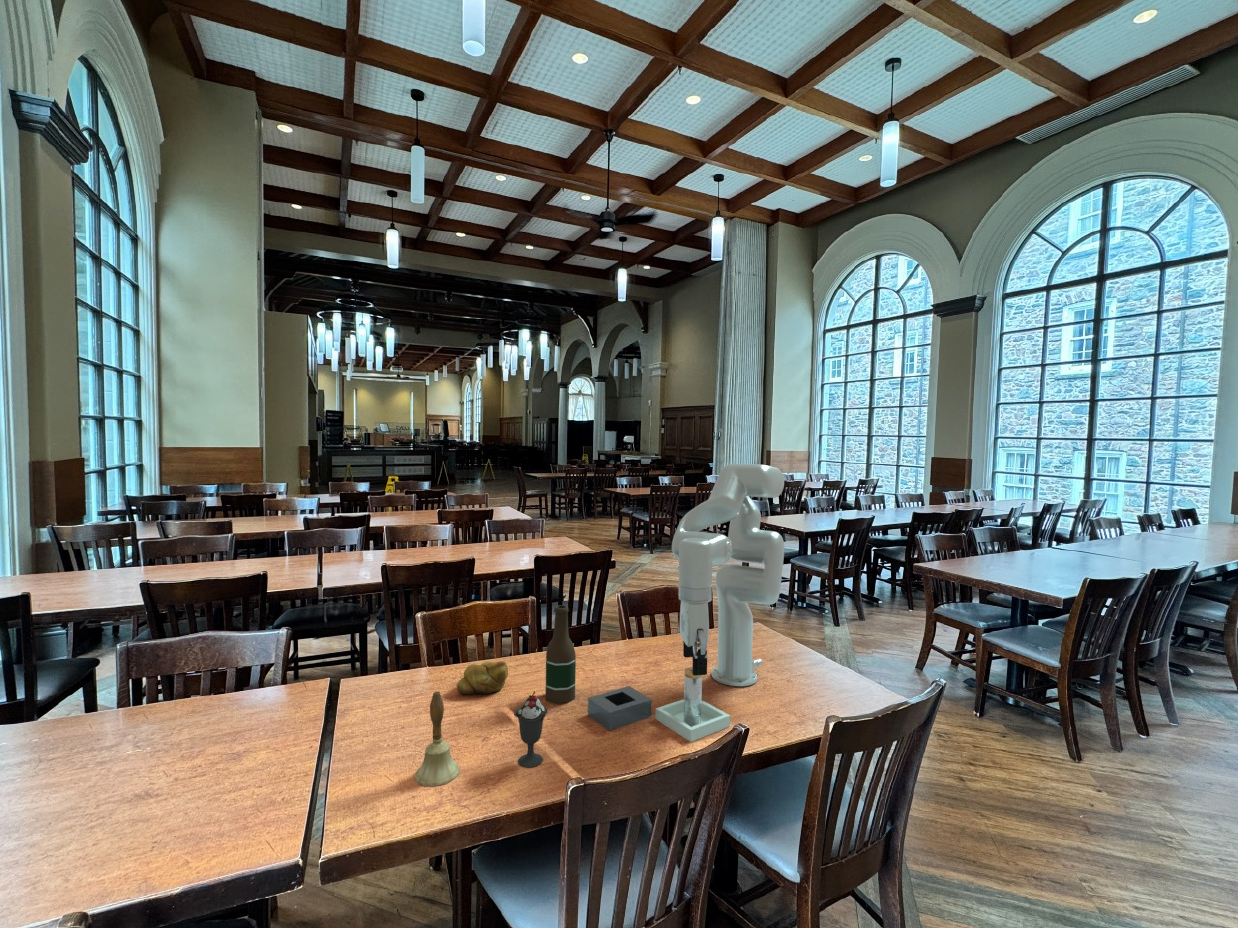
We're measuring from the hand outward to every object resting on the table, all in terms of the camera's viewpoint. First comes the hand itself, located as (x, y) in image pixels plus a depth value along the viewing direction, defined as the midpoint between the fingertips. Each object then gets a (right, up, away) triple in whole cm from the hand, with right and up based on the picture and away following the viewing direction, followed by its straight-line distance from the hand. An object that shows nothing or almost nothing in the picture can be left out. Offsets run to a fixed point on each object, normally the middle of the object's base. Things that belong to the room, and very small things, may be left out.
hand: (694, 665), depth 127 cm
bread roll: (-54, -13, +18) cm, 58 cm away
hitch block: (-17, -14, +2) cm, 22 cm away
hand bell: (-53, -14, -20) cm, 58 cm away
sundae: (-36, -14, -15) cm, 41 cm away
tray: (-1, -14, 0) cm, 14 cm away
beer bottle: (-32, -13, +11) cm, 37 cm away
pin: (-1, -13, 0) cm, 13 cm away
